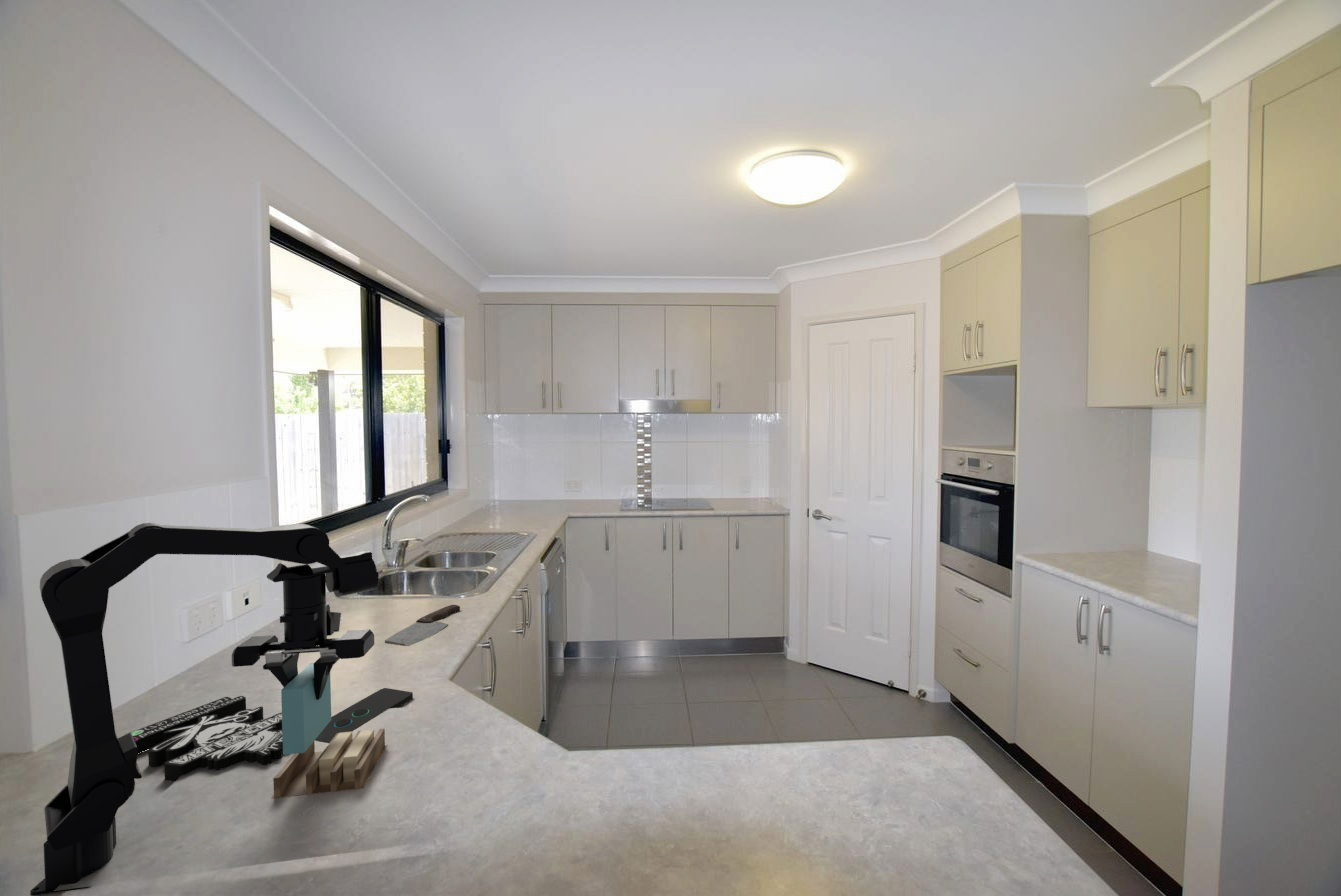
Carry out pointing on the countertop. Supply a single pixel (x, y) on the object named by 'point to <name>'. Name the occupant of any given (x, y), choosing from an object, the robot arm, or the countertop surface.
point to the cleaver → (422, 627)
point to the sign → (211, 738)
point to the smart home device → (363, 712)
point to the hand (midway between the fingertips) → (307, 699)
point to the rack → (305, 776)
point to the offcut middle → (333, 756)
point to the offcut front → (356, 754)
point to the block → (303, 712)
